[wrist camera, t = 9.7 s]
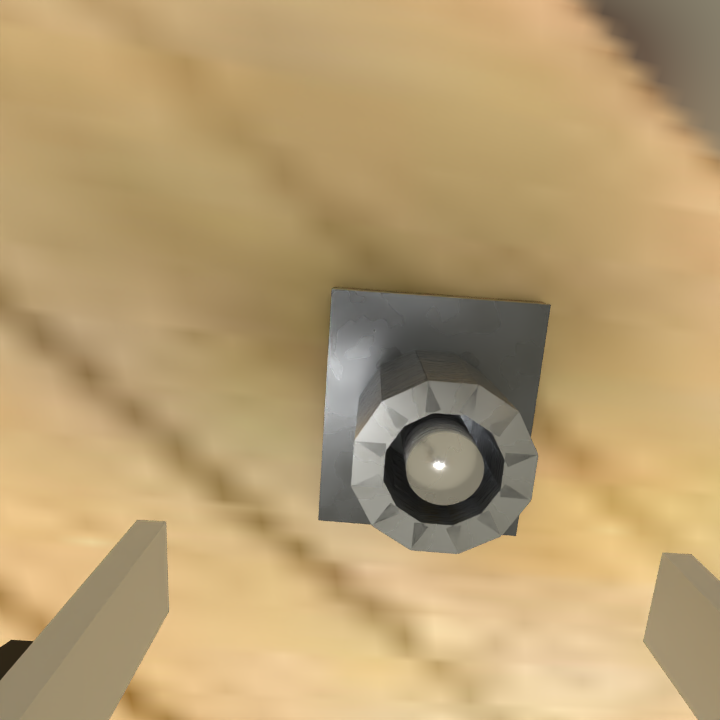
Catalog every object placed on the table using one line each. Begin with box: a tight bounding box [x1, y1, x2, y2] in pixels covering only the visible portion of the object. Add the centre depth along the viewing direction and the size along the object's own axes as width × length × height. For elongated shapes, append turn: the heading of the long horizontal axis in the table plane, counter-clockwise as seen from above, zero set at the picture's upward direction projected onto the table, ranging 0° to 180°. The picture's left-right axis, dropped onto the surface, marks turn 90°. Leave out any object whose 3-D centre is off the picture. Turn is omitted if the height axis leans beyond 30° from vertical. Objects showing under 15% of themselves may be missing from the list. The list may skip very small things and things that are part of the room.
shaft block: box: [318, 287, 551, 536], centre depth 26 cm, size 14×12×8 cm
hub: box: [351, 350, 538, 554], centre depth 25 cm, size 8×8×7 cm
